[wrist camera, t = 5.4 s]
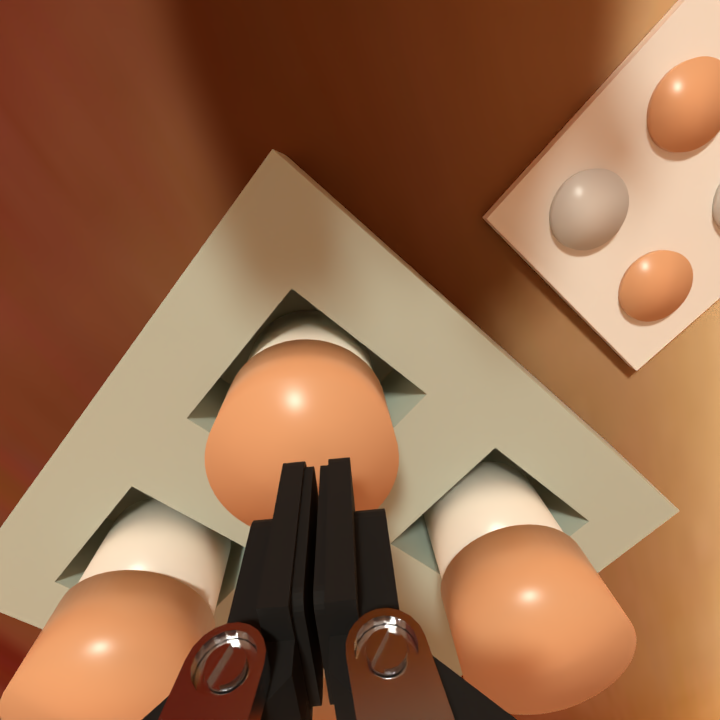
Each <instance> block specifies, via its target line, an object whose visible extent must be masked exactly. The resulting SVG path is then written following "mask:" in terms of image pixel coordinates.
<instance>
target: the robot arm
mask: <svg viewBox="0 0 720 720" xmlns="http://www.w3.org/2000/svg"><path fill="white" fill-rule="evenodd" d="M323 669H324V673H325V679H326V685H327V691H328V697H329V703H330V705H334V707H335V714H336V720H517V719H515V718H514V717H513V716H511V715H510V714H509V713H507V712H506V711H505V710H503V709H502V708H501V707H500V706H498V705H497V704H496V703H494V702H493V701H492V700H490V699H489V698H488V697H486V696H485V695H484V694H483V693H481V692H480V691H479V690H477V689H476V688H475V687H473V686H472V685H471V684H469V683H468V682H467V681H466V680H464V679H463V678H462V677H460V676H459V675H458V674H456V673H455V672H454V671H452V670H451V669H450V668H449V667H447V666H446V665H445V664H443V663H442V662H441V661H439V660H438V659H437V658H435V657H434V656H433V655H432V653H431V650H430V647H429V645H428V642H427V639H426V636H425V634H424V632H423V630H422V628H421V626H420V625H419V624H418V623H417V622H416V621H415V620H414V619H413V618H412V617H411V616H410V615H408V614H406V613H404V612H402V611H401V610H399V603H398V596H397V589H396V582H395V575H394V568H393V561H392V554H391V547H390V540H389V533H388V526H387V519H386V512H385V508H383V509H372V510H361V511H355V502H354V492H353V482H352V472H351V463H350V457H346V458H335V459H329V460H328V465H323V466H320V479H319V496H318V488H317V481H316V474H315V468H314V466H312V467H307V465H306V462H305V461H302V462H291V463H283V466H282V470H281V476H280V481H279V487H278V492H277V498H276V503H275V508H274V514H273V519H264V520H254V521H253V522H252V524H251V527H250V531H249V535H248V539H247V543H246V547H245V551H244V555H243V559H242V563H241V568H240V572H239V576H238V580H237V584H236V588H235V592H234V596H233V601H232V605H231V609H230V613H229V617H228V621H227V624H224V625H222V626H219V627H216V628H214V629H213V630H211V631H210V632H208V633H207V634H205V635H204V636H202V638H201V639H200V640H199V641H198V642H197V643H196V644H195V645H194V646H193V647H192V649H191V651H190V652H189V654H188V656H187V657H186V659H185V661H184V663H183V665H182V668H181V670H180V672H179V674H178V677H177V679H176V681H175V683H174V685H173V688H172V690H171V692H170V694H169V696H168V697H167V698H166V699H164V700H163V701H162V702H161V703H160V704H159V705H158V706H157V707H155V708H154V709H153V710H152V711H151V712H150V713H149V714H147V715H146V716H145V717H144V718H143V719H142V720H312V716H313V707H315V706H322V701H323Z"/></svg>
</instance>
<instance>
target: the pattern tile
mask: <svg viewBox="0 0 720 720" xmlns="http://www.w3.org/2000/svg"><path fill="white" fill-rule="evenodd" d="M482 218H483V219H484V220H485V221H486V222H487V223H488V224H489V225H490V226H491V227H492V228H493V229H494V230H495V231H496V232H497V233H498V234H499V235H500V236H501V237H502V238H503V239H504V240H505V241H506V242H507V243H508V244H509V245H510V246H511V247H512V248H513V249H514V250H515V251H516V252H517V253H518V254H519V255H520V256H521V257H522V258H523V260H524V261H525V262H526V263H527V264H528V265H529V266H530V267H531V268H532V269H533V270H534V271H535V272H536V273H537V274H538V275H539V276H540V277H541V278H542V279H543V280H544V281H545V282H546V283H547V284H548V285H549V286H550V287H551V288H552V289H553V290H554V291H555V292H556V293H557V294H558V295H559V296H560V297H561V298H562V299H563V300H564V301H565V302H566V303H567V304H568V305H569V306H570V307H571V308H572V309H573V310H574V311H575V312H576V313H577V314H578V315H579V316H580V317H581V318H582V319H583V320H584V321H585V322H586V323H587V324H588V325H589V326H590V327H591V328H592V329H593V330H594V331H595V332H596V333H597V334H598V335H599V336H600V337H601V338H602V339H603V340H604V341H605V342H606V343H607V344H608V345H609V346H610V347H611V348H612V349H613V350H614V351H615V352H616V353H617V354H618V355H619V356H620V357H621V358H622V359H623V360H624V361H625V362H626V363H627V364H628V365H629V366H630V367H631V368H633V369H635V370H636V371H637V370H638V369H639V368H641V367H642V366H643V365H644V364H645V363H646V362H647V361H649V360H650V359H651V358H652V357H653V356H654V355H655V354H657V353H658V352H659V351H660V350H661V349H662V348H663V347H665V346H666V345H667V344H668V343H669V342H670V341H671V340H673V339H674V338H675V337H676V336H677V335H678V334H679V333H680V332H682V331H683V330H684V329H685V328H686V327H687V326H688V325H690V324H691V323H692V322H693V321H694V320H695V319H696V318H698V317H699V316H700V315H701V314H702V313H703V312H704V311H706V310H707V309H708V308H709V307H710V306H711V305H712V304H714V303H715V302H716V301H717V300H718V299H719V298H720V0H678V1H677V2H676V3H675V4H674V5H673V7H672V8H671V9H670V10H669V11H668V12H667V13H666V14H665V15H664V16H663V18H662V19H661V20H660V21H659V22H658V23H657V24H656V25H655V26H654V28H653V29H652V30H651V31H650V32H649V33H648V34H647V35H646V36H645V38H644V39H643V40H642V41H641V42H640V43H639V44H638V45H637V46H636V47H635V49H634V50H633V51H632V52H631V53H630V54H629V55H628V56H627V57H626V59H625V60H624V61H623V62H622V63H621V64H620V65H619V66H618V67H617V69H616V70H615V71H614V72H613V73H612V74H611V75H610V76H609V77H608V78H607V80H606V81H605V82H604V83H603V84H602V85H601V86H600V87H599V88H598V90H597V91H596V92H595V93H594V94H593V95H592V96H591V97H590V98H589V100H588V101H587V102H586V103H585V104H584V105H583V106H582V107H581V108H580V109H579V111H578V112H577V113H576V114H575V115H574V116H573V117H572V118H571V119H570V121H569V122H568V123H567V124H566V125H565V126H564V127H563V128H562V129H561V131H560V132H559V133H558V134H557V135H556V136H555V137H554V138H553V139H552V140H551V142H550V143H549V144H548V145H547V146H546V147H545V148H544V149H543V150H542V152H541V153H540V154H539V155H538V156H537V157H536V158H535V159H534V160H533V162H532V163H531V164H530V165H529V166H528V167H527V168H526V169H525V170H524V172H523V173H522V174H521V175H520V176H519V177H518V178H517V179H516V180H515V181H514V183H513V184H512V185H511V186H510V187H509V188H508V189H507V190H506V191H505V193H504V194H503V195H502V196H501V197H500V198H499V199H498V200H497V201H496V203H495V204H494V205H493V206H492V207H491V208H490V209H489V210H488V211H487V212H486V214H485V215H484V216H483V217H482Z"/></svg>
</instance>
